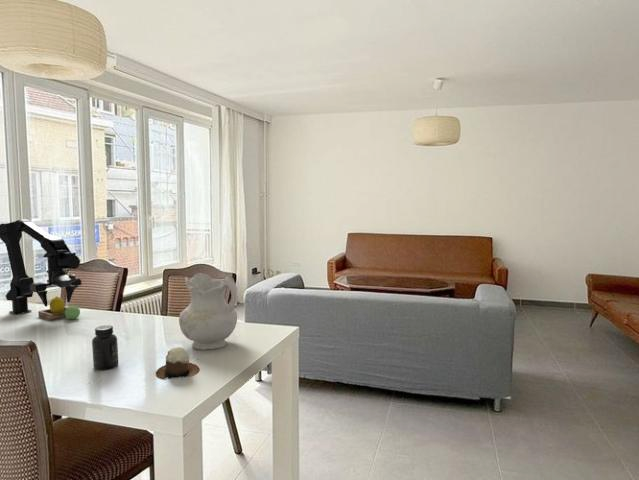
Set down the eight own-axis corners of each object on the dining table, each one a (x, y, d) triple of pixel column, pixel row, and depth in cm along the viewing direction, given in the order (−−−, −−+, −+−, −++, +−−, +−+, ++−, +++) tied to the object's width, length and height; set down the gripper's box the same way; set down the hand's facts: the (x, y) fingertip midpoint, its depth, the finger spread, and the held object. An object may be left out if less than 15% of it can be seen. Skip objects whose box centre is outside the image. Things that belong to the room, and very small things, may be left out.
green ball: (62, 319, 188) (61, 306, 188) (75, 316, 193) (75, 303, 192) (69, 321, 185) (68, 308, 185) (83, 318, 190) (82, 305, 189)
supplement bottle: (111, 360, 141) (110, 322, 139) (122, 366, 136) (121, 326, 135) (89, 367, 135) (87, 327, 134) (99, 372, 131) (98, 332, 130)
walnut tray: (38, 316, 192) (38, 311, 192) (64, 311, 201) (63, 306, 201) (51, 320, 186) (50, 314, 186) (77, 315, 195) (76, 309, 195)
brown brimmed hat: (152, 364, 135) (176, 336, 137) (180, 383, 138) (203, 357, 140) (150, 377, 124) (176, 347, 126) (180, 399, 127) (205, 369, 128)
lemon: (47, 316, 192) (46, 297, 191) (58, 312, 197) (57, 294, 196) (57, 317, 190) (56, 298, 189) (68, 313, 196) (67, 295, 195)
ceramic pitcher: (252, 343, 162) (253, 273, 162) (226, 356, 143) (228, 277, 143) (198, 338, 168) (199, 270, 168) (166, 350, 149) (168, 275, 149)
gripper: (41, 272, 180) (43, 311, 181) (87, 266, 195) (89, 302, 197) (28, 270, 186) (30, 307, 187) (73, 264, 201) (75, 299, 203)
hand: (57, 304), depth 193 cm, fingers open, 9 cm apart
